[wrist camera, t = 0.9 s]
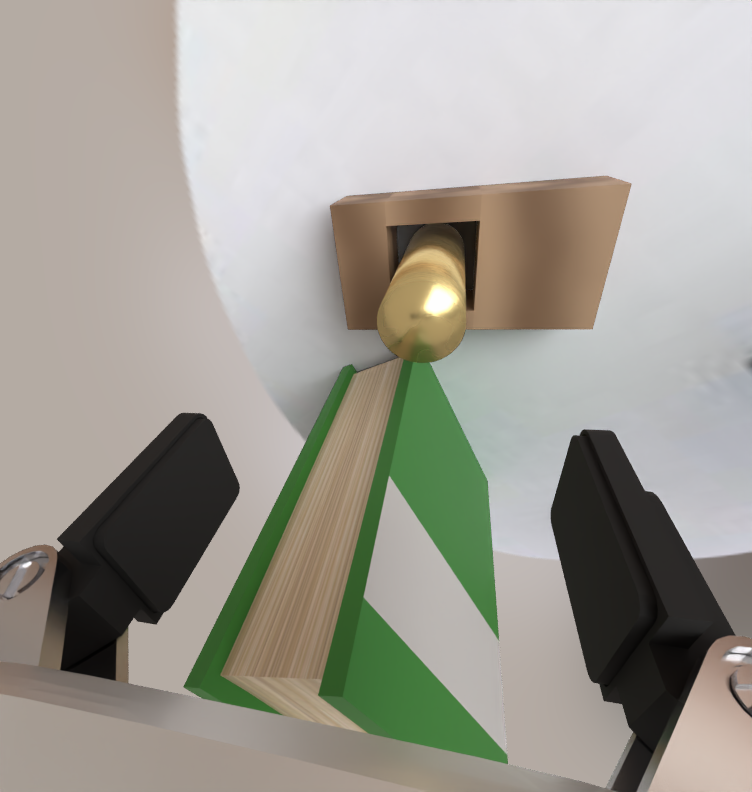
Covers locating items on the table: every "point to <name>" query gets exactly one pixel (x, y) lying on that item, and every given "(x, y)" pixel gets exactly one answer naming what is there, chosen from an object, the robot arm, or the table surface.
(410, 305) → the peg
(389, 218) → the eye block
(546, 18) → the table surface
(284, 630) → the hardback book
